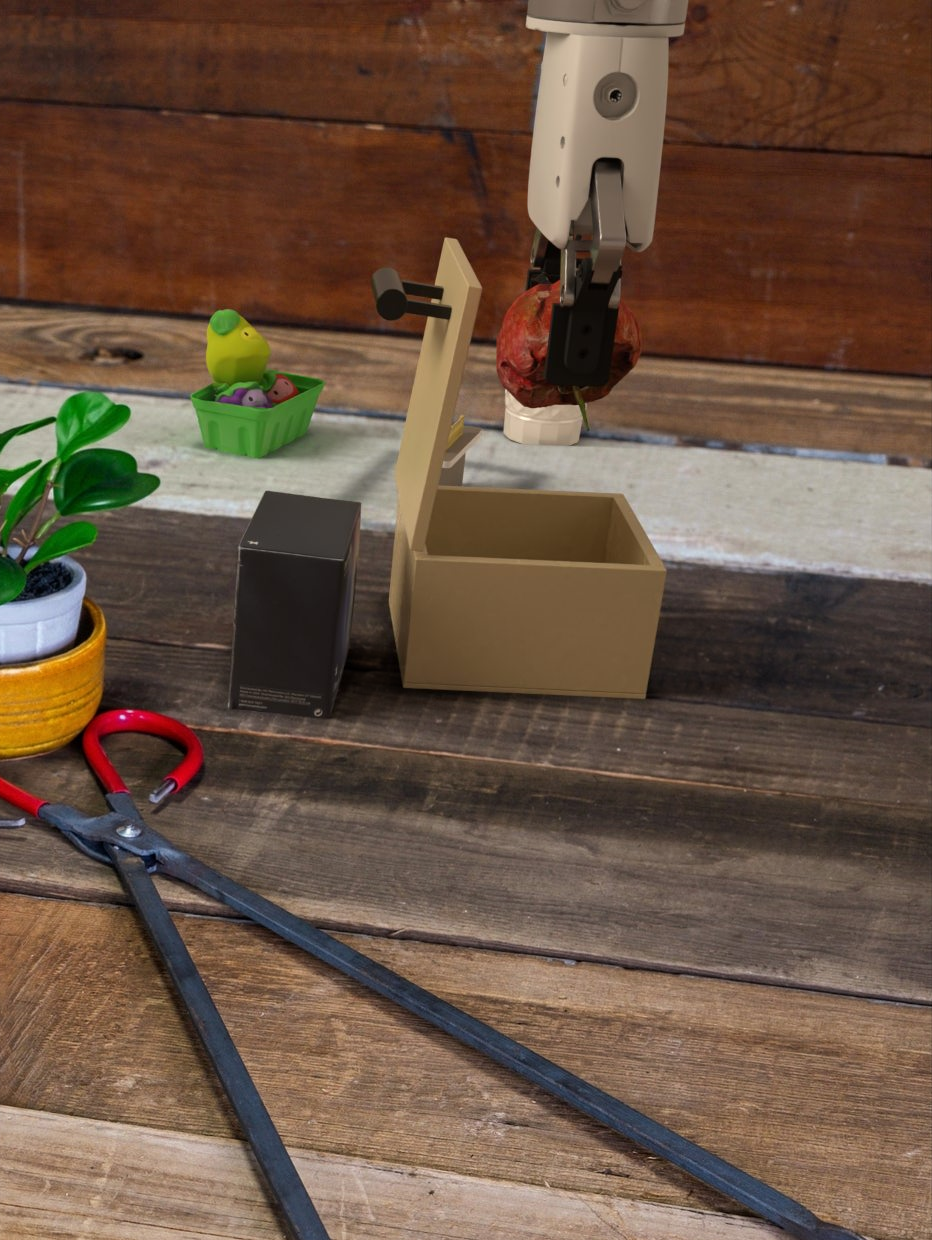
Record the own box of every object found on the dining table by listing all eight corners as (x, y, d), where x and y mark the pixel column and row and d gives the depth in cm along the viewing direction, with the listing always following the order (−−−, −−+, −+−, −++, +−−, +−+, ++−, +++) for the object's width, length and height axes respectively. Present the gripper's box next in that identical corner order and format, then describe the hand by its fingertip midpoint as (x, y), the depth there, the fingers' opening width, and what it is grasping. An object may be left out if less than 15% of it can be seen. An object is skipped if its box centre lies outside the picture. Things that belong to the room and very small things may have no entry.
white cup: (528, 454, 146) (543, 339, 141) (479, 428, 152) (492, 317, 147) (603, 445, 149) (620, 333, 144) (552, 420, 155) (567, 312, 150)
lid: (457, 239, 103) (375, 225, 102) (482, 287, 90) (389, 272, 90) (405, 477, 110) (328, 465, 109) (423, 552, 97) (336, 539, 97)
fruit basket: (263, 470, 139) (271, 334, 134) (172, 451, 143) (175, 318, 138) (325, 437, 148) (334, 308, 143) (237, 419, 152) (242, 293, 146)
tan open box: (604, 617, 113) (623, 493, 110) (644, 706, 101) (667, 570, 97) (388, 607, 114) (399, 483, 110) (402, 695, 102) (415, 558, 98)
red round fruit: (644, 462, 89) (613, 311, 93) (670, 377, 82) (635, 220, 86) (504, 475, 89) (479, 324, 93) (518, 391, 82) (490, 233, 87)
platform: (328, 524, 128) (334, 440, 125) (398, 459, 143) (405, 383, 140) (481, 551, 124) (491, 465, 121) (537, 481, 139) (547, 404, 136)
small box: (335, 728, 97) (348, 558, 92) (224, 716, 98) (231, 547, 93) (353, 654, 106) (366, 497, 102) (251, 644, 107) (260, 487, 103)
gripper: (733, 14, 73) (670, 413, 81) (646, -10, 88) (601, 327, 96) (560, 8, 73) (515, 408, 81) (504, -15, 88) (470, 322, 96)
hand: (562, 361), depth 89 cm, fingers closed on red round fruit, 7 cm apart
